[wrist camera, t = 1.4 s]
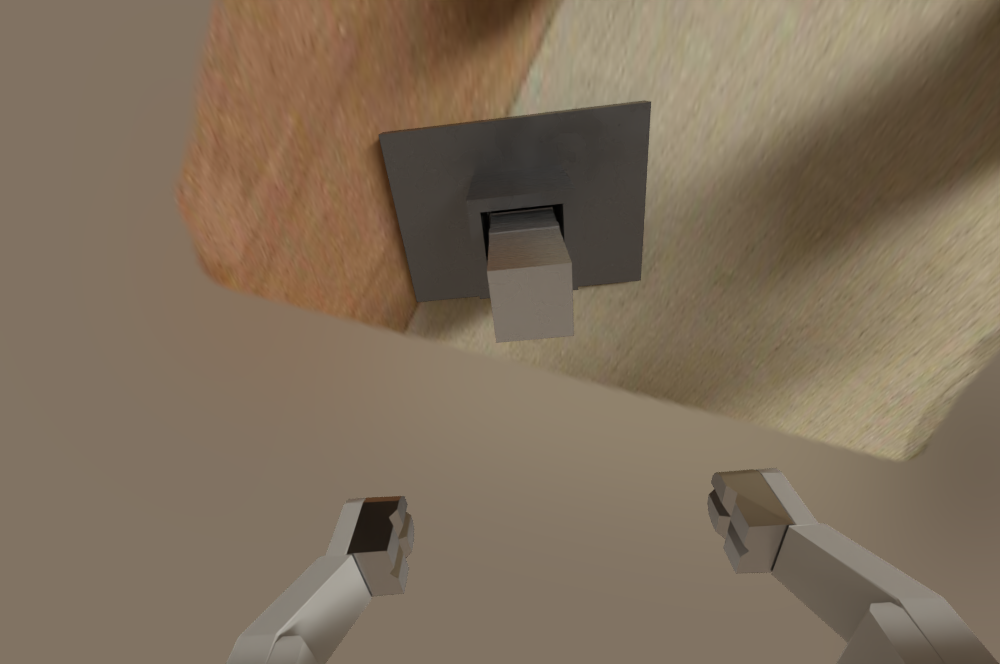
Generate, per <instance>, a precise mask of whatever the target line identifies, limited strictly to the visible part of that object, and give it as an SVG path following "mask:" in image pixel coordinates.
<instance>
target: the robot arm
mask: <svg viewBox="0 0 1000 664" xmlns="http://www.w3.org/2000/svg"><path fill="white" fill-rule="evenodd" d="M711 483H712V485H713V487H714V490H713V491H712V492H711V493H710V494H709V497H708V511H709V516H710V519H711V522H712V524H713V527H714V529H715V531H716V532H717V533H718V534H720V535H721V536H722V537H723V538H725V539H726V540H725V544H724V550H725V552H726V554H727V556H728V558H729V560H730V563H731V565H732V567H733V569H734V571H735V573H736V574H737V573H765V572H766V573H767V572H772V575H773V576H774V577H775V578H776V579H777V580H778V581H780V582H781V583H782V584H783V585H784V586H785V587H786V588H787V589H788V590H790V591H791V592H792V593H793V594H794V595H795V596H796V597H797V598H798V599H800V600H801V601H802V602H803V603H804V604H805V605H806V606H807V607H808V608H810V609H811V610H812V611H813V612H814V613H815V614H816V615H818V616H819V617H820V618H821V619H822V620H823V621H824V622H825V623H826V624H827V625H828V626H830V627H831V628H832V629H833V630H834V631H835V632H836V633H837V634H839V635H840V636H841V637H842V638H843V639H844V640H845V641H846V642H847V645H846V647H845V649H844V650H843V652H842V654H841V655H840V657H839V659H838V662H837V664H999V663H998V662H997V660H996V659H995V658H994V657H993V656H992V655H991V653H990V652H989V651H988V650H987V649H986V647H985V646H984V645H983V644H982V643H981V642H980V641H979V639H978V638H977V637H976V636H975V634H974V633H973V632H972V631H971V630H970V629H969V627H968V626H967V625H966V624H965V623H964V621H963V620H962V619H961V618H960V617H959V615H958V614H957V613H956V612H955V611H954V610H953V608H952V607H951V606H950V605H949V604H948V603H947V601H946V600H945V599H944V598H943V597H941V596H940V595H938V594H937V593H935V592H933V591H932V590H930V589H928V588H927V587H925V586H924V585H922V584H921V583H919V582H917V581H916V580H914V579H913V578H911V577H909V576H908V575H906V574H905V573H903V572H902V571H900V570H898V569H897V568H895V567H894V566H892V565H890V564H889V563H887V562H886V561H884V560H882V559H881V558H879V557H878V556H876V555H875V554H873V553H871V552H870V551H868V550H867V549H865V548H863V547H862V546H860V545H859V544H857V543H855V542H854V541H852V540H851V539H849V538H847V537H846V536H844V535H843V534H841V533H840V532H838V531H836V530H835V529H833V528H832V527H830V526H828V525H827V524H825V523H820V524H819V523H818V522H817V521H816V519H815V518H814V517H813V515H812V514H811V513H810V511H809V510H808V508H807V507H806V505H805V504H804V503H803V501H802V500H801V499H800V497H799V496H798V494H797V493H796V492H795V490H794V489H793V487H792V486H791V485H790V483H789V482H788V480H787V479H786V478H785V476H784V475H783V473H782V472H781V471H780V470H778V469H777V468H769V469H756V470H753V469H751V470H739V471H729V472H716V473H715V474H714V475H713V477H712V481H711ZM406 509H407V502H406V499H405V497H404V496H394V497H372V498H356V499H348V500H347V501H346V503H345V504H344V506H343V508H342V511H341V514H340V516H339V520H338V522H337V525H336V527H335V530H334V533H333V536H332V538H331V541H330V544H329V547H328V549H327V552H326V555H325V556H321V557H319V558H318V559H317V560H316V561H315V562H314V563H313V564H312V565H311V566H310V567H309V568H308V569H307V570H306V571H305V572H304V573H303V574H301V575H300V576H299V577H298V578H297V579H296V580H295V581H294V582H293V583H292V584H291V586H289V587H288V589H286V591H284V592H283V593H282V594H281V595H280V596H279V597H278V598H277V599H276V600H275V601H274V602H273V603H272V604H271V605H270V606H269V607H268V608H267V609H266V610H265V612H263V613H262V614H261V615H260V616H259V617H258V618H257V619H256V620H255V621H254V622H253V623H252V624H251V625H250V626H249V627H248V628H247V629H246V630H245V631H244V632H243V633H242V634H241V635H240V636H239V637H238V639H237V641H236V643H235V645H234V648H233V650H232V652H231V654H230V656H229V658H228V660H227V663H226V664H325V663H326V662H327V661H328V659H329V658H330V657H331V655H332V654H333V652H334V651H335V650H336V648H337V646H338V645H339V644H340V643H341V641H342V640H343V638H344V637H345V636H346V634H347V633H348V631H349V630H350V629H351V627H352V626H353V624H354V623H355V622H356V620H357V619H358V617H359V616H360V615H361V613H362V612H363V610H364V609H365V608H366V606H367V605H368V603H369V602H370V601H371V599H372V598H371V597H372V596H383V595H394V594H404V591H405V586H406V581H407V575H408V570H409V567H408V564H407V561H406V558H407V557H408V555H409V554H410V553H411V552H412V548H413V542H414V526H413V520H412V517H411V515H410V514H409V513H407V512H406Z"/></svg>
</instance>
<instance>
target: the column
mask: <svg viewBox="0 0 1000 664" xmlns="http://www.w3.org/2000/svg"><path fill="white" fill-rule="evenodd" d="M490 215H491V224H490V229H489V251H488V264H487V276H488V283H489V291H490V298H491V306H492V313H493V321H494V328H495V335H496V343H498V342H509V341H521V340H532V339H543V338H554V337H565V336H574V325H573V289H572V262H571V259H570V257H569V254H568V251H567V248H566V246H565V243H564V240H563V237H562V235H561V232H560V229H559V223H558V222H557V221H556V218H555V216H554V213H553V208H552V205H544V206H535V207H525V208H516V209H507V210H498V211H491V213H490Z"/></svg>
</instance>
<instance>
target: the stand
mask: <svg viewBox="0 0 1000 664" xmlns="http://www.w3.org/2000/svg"><path fill="white" fill-rule="evenodd" d="M650 111H651V102H650V101H638V102H630V103H621V104H613V105H605V106H597V107H588V108H580V109H572V110H564V111H555V112H547V113H539V114H531V115H522V116H514V117H506V118H498V119H489V120H481V121H473V122H465V123H456V124H448V125H440V126H432V127H423V128H415V129H407V130H399V131H390V132H383V133H381V134H379V139H380V144H381V148H382V152H383V157H384V161H385V165H386V170H387V174H388V178H389V183H390V187H391V191H392V196H393V200H394V204H395V209H396V213H397V217H398V222H399V226H400V230H401V235H402V239H403V243H404V248H405V252H406V256H407V261H408V265H409V269H410V274H411V278H412V282H413V287H414V291H415V296H416V300H417V302H423V301H433V300H444V299H454V298H464V297H474V296H480V299H485V298H490V291H489V283H488V276H487V264H488V251H489V229H490V224H491V215H490V213H491V211H498V210H507V209H516V208H525V207H535V206H544V205H552V208H553V213H554V216H555V218H556V221H557V222H558V223H559V229H560V232H561V235H562V237H563V240H564V243H565V246H566V248H567V251H568V254H569V257H570V259H571V262H572V289H573V290H578V286H588V285H598V284H608V283H618V282H629V281H639V280H641V263H642V246H643V230H644V213H645V196H646V179H647V162H648V145H649V128H650Z"/></svg>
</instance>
